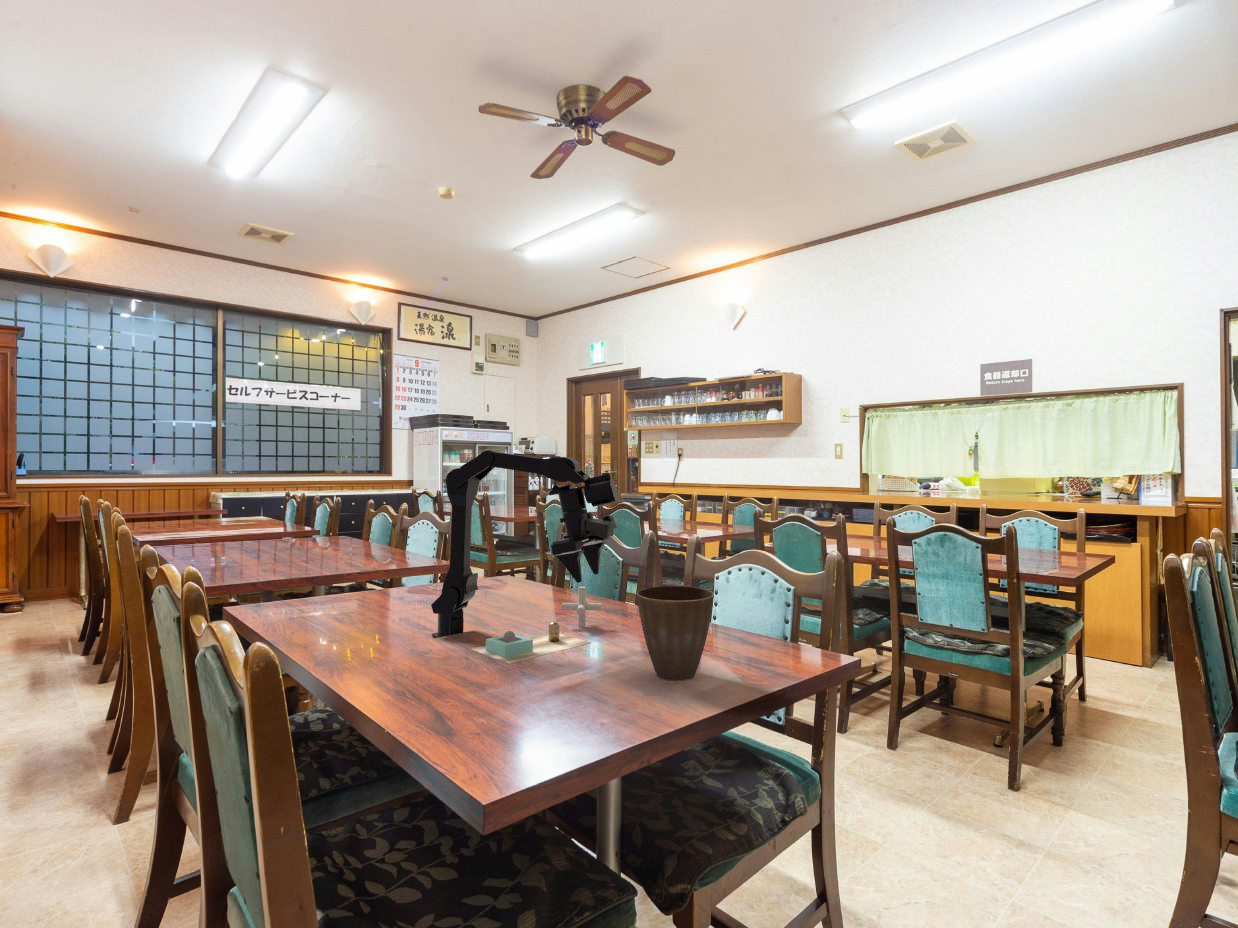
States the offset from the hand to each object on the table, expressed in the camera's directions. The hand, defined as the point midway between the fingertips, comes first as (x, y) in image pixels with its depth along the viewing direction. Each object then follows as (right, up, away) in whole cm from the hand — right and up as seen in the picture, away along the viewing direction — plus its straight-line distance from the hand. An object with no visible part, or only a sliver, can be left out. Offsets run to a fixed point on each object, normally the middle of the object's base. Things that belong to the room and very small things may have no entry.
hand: (588, 578), depth 146 cm
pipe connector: (-2, -15, +16) cm, 22 cm away
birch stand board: (-12, -15, -7) cm, 20 cm away
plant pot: (+18, -15, -22) cm, 32 cm away
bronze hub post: (-8, -13, -3) cm, 16 cm away
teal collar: (-16, -13, -11) cm, 24 cm away
